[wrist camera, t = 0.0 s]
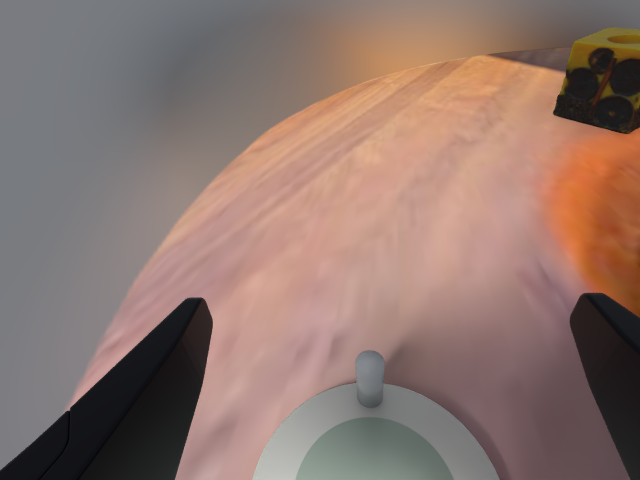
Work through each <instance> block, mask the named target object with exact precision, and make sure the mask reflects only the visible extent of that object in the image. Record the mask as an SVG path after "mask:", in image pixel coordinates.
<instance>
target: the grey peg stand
mask: <svg viewBox="0 0 640 480" xmlns="http://www.w3.org/2000/svg"><path fill="white" fill-rule="evenodd" d="M384 367H385V362H384V359H383V357H382V356H381V355H380V354H379V353H377V352H375V351H364V352H362V353H360V354H359V355H358V357H357V359H356V383H352V384H346V385H341V386H338V387H335V388H331V389H329V390H326V391H324V392H322V393H320V394H317V395H316V396H314V397H312V398H311V399H309V400H307V401H306V402H304V403H303V404H302V405H300V406H299V407H298V408H297V409H295V410H294V411H293V412H292V413H291V414H290V415H289V416H288V417H287V418H286V419H285V420H284V421H283V422H282V424H281V425H280V426H279V427H278V429H277V430H276V431H275V432H274V434H273V435H272V437H271V439H270V440H269V442H268V443H267V445H266V447H265V449H264V451H263V453H262V455H261V457H260V459H259V462H258V464H257V467H256V470H255V473H254V476H253V480H500V479H499V477H498V475H497V473H496V470H495V468H494V466H493V465H492V463H491V461H490V459H489V458H488V456H487V454H486V453H485V451H484V450H483V448H482V447H481V446H480V444H479V443H478V441H477V440H476V439H475V437H474V436H473V435H472V434H471V433H470V432H469V431H468V429H467V428H466V427H465V426H464V425H463V424H462V423H461V422H460V421H459V420H458V419H457V418H455V417H454V416H453V415H452V414H451V413H450V412H448V411H447V410H446V409H444V408H443V407H442V406H440V405H439V404H437V403H436V402H434V401H432V400H431V399H429V398H427V397H425V396H423V395H421V394H419V393H417V392H414V391H412V390H409V389H406V388H403V387H400V386H396V385H391V384H386V383H384Z"/></svg>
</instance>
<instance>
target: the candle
mask: <svg viewBox="0 0 640 480" xmlns="http://www.w3.org/2000/svg"><path fill="white" fill-rule="evenodd" d="M556 101H557V103H556V107H555V110H554V112H553V114H554V115H557V116H559V117H563V118H567V119H571V120H575V121H578V122H582V123H586V124H590V125H594V126H598V127H602V128H606V129H609V130H612V131H616V132H621V133H630V132H632V131H633V130H635V129H636V128H639V127H640V30H638V29H626V28H615V27H611V28H606V29H604V30H602V31H599V32H597V33H595V34H592V35H590V36H587V37H584V38H582V39H579V40H577V41H575V42H574V44H573V46H572V50H571V54H570V57H569V61H568V63H567V68H566V76H565V79H564V82H563V86H562V90H561V92H560V94H559V95H558V97H557V100H556Z"/></svg>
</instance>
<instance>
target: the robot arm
mask: <svg viewBox="0 0 640 480" xmlns="http://www.w3.org/2000/svg"><path fill="white" fill-rule="evenodd" d="M570 326H571V330H572V333H573V336H574V339H575V343H576V346H577V349H578V352H579V355H580V358H581V362H582V365H583V368H584V371H585V374H586V378H587V380H588V383H589V386H590V389H591V391H592V393H593V396H594V398H595V400H596V403H597V405H598V407H599V409H600V412H601V414H602V416H603V419H604V421H605V423H606V425H607V428H608V430H609V432H610V434H611V437H612V439H613V441H614V443H615V446H616V448H617V450H618V452H619V455H620V457H621V459H622V461H623V464H624V466H625V468H626V470H627V473H628V475H629V477H630V480H640V318H639V317H638V316H637V315H635V314H634V313H632V312H631V311H629V310H628V309H626V308H625V307H623V306H622V305H620V304H619V303H617V302H616V301H614V300H613V299H611V298H610V297H608V296H607V295H605V294H603V293H584V294H582V295H581V296H580V297H579V299H578V301H577V303H576V305H575V307H574V309H573V311H572V313H571V316H570ZM212 328H213V320H212V316H211V314H210V311H209V309H208V306H207V303H206V301H205V300H204V299H203V298H187V299H185V300H184V301H183V302H182V303H181V304H180V305H179V306H178V307H177V308H176V309H175V310H174V311H172V312H171V313H170V314H169V315H168V316H167V317H166V318H165V319H164V320H163V321H162V322H161V323H160V324H159V325H158V326H157V327H155V328H154V329H153V330H152V331H151V332H150V333H149V334H148V335H147V336H146V337H145V338H144V339H143V340H142V341H141V342H140V343H139V344H137V345H136V346H135V347H134V348H133V349H132V350H131V351H130V352H129V353H128V354H127V355H126V356H125V357H124V358H123V359H122V360H121V361H119V362H118V363H117V364H116V365H115V366H114V367H113V368H112V369H111V370H110V371H109V372H108V373H107V374H106V375H105V376H104V377H103V378H101V379H100V380H99V381H98V382H97V383H96V384H95V385H94V386H93V387H92V388H91V389H90V390H89V391H88V392H87V393H86V394H84V395H83V396H82V397H81V398H80V399H79V400H78V401H77V402H76V403H75V404H74V405H73V406H72V407H71V408H70V411H66V412H65V413H64V414H63V415H62V416H61V417H60V418H59V419H58V420H57V421H56V422H55V423H54V424H53V425H51V426H50V427H49V428H48V429H47V430H46V431H45V432H44V433H43V434H42V435H40V436H39V437H38V438H37V439H36V440H35V441H34V442H33V443H32V444H31V445H30V446H29V447H27V448H26V449H25V450H24V451H22V452H21V453H20V454H19V455H18V456H17V457H16V458H14V459H13V460H12V461H11V462H10V463H8V464H7V465H6V466H5V467H4V468H3V469H1V470H0V480H175V477H176V474H177V470H178V467H179V464H180V460H181V457H182V453H183V450H184V446H185V443H186V440H187V436H188V433H189V429H190V426H191V422H192V419H193V416H194V412H195V409H196V405H197V402H198V398H199V395H200V392H201V388H202V384H203V379H204V374H205V368H206V363H207V357H208V351H209V345H210V340H211V334H212Z"/></svg>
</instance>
